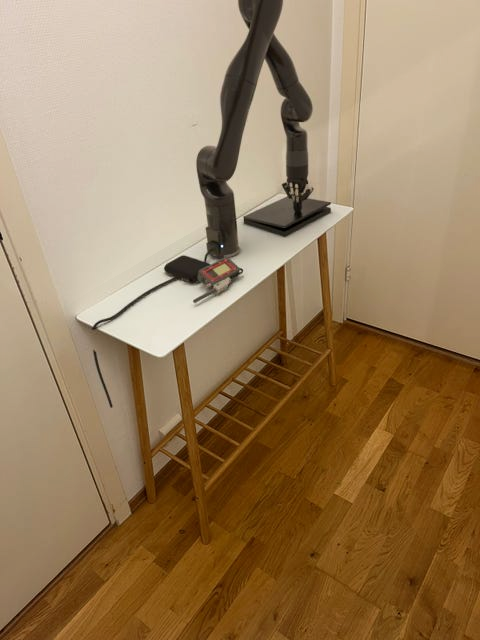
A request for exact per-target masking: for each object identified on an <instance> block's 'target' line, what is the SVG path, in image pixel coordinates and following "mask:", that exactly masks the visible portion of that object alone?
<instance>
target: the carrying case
mask: <svg viewBox="0 0 480 640" xmlns="http://www.w3.org/2000/svg"><path fill="white" fill-rule="evenodd" d="M210 264H211V263H209V262H207V261H206V262H204V260H201V259H197V258H194V257H191V256H189V255H180V256H178V257H176V258H174V259H173V260H171V261H169V262H166V263H165V265H164V267H163V270H164V272H165V273H166V274H169V275H171V276H174V277H179V278H178V279H180V280H181V281H182V282H190V283H199V281H198V278H197V277H198V272H199V270H201V269H203V268H205V267H207V266H208V265H210Z"/></svg>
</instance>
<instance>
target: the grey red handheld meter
mask: <svg viewBox="0 0 480 640" xmlns="http://www.w3.org/2000/svg"><path fill="white" fill-rule="evenodd" d="M209 264H210V265H208V266H207V267H205V268H203V269H201V270H199V272H198V277H197V278H198V283H202V284H203V285H204V286H205V288H206V289H207V290H208V291H207V292H205V293H203V294H202V295H199V296H198V297H196V298H194V299H193V300H192V303H193V304H197V303H198V302H200V301H202V300H204V299H205V298H207V297H209V296H211V295H214V294H216V295H219V294H220V293H222V292H223V291H225V290H227V289H228V286H229V284H230V283H231V282H232V280H233V279H235V278H238V277H239V276H240V275H241V274H243V273H244V269H243V268H241V267H240V266H238V265H237V264H236V262H234V261H233V260H232V259H231V257H224V258H222V259H218V260H216V261H215V262H213V263H209Z"/></svg>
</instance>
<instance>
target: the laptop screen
mask: <svg viewBox="0 0 480 640" xmlns="http://www.w3.org/2000/svg"><path fill="white" fill-rule="evenodd" d="M330 205H332V202H331V201H326V200H321V199H320V200H319V199H315V198H309V197H308V198H307V199H306V200H304V201H302V210H301V211H299V212H295V211H294V209H293V201H292V199H289V198H288V196H287V195H286V196H285V197H283V198H280V199H278V200H276V201H274V202H271V203H270V204H268V205H265V206H263V207H260V208H259V209H256V210H255V211H252V212H250V213H248V214H246V215H244V216H242V218H243V220H244V219H247V220H251V221H256V222H260V223H264V224H269V225H273V226H277V227H281V228H286V227H288V226H290V225H292V224H294V223H296V222H298V221H300V220H302V219H303V218H305V217H307V216H309V215H311V214H313V213H315V212H317V211H319V210H321V209H323V208H325V207H329V206H330Z"/></svg>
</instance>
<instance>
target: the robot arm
mask: <svg viewBox="0 0 480 640" xmlns="http://www.w3.org/2000/svg"><path fill="white" fill-rule="evenodd" d="M283 6H284V0H237V7H238V10H239V14H240V16H241V18H242V20H243V22H244V24H245V26H246V28H247V29H248V32H247V35H246V37H245V39H244V41H243V43H242V44H241V46H240V47H239V49H238V50H237V51H236V53H235V55H234V56H233V58H232V59H231V60H230V62H229V64H228V66H227V67H226V70H225V73H224V76H223V81H222V84H221V88H220V92H219V107H220V109H219V110H220V116H221V129H220V134H219V137H218V141H217V144H216V145H212V144H211V145H209V144H208V145H205V146H203V147H202V148H200V149H199V151H198V153H197V155H196V160H195V167H196V168H195V169H196V174H197V179H198V185H199V191H200V193H201V195H202V197H203V200H204V208H205V215H206V223H207V226H206V227H205V233H206V241H207V242H206V243H205V244H206V250H207V251H206V253H205V255H204V260H203V262H206V263H207V260H208V256H209V255H210V256H213V257H215V258H216V259H217V258H218V259H219V260H221V259H222V258H224V257H228V258H232V257H234V256H236V255H238V254H239V253H240V249H241V248H240V241H239V232H238V223H237V222H238V221H237V212H236V211H237V209H236V200H235V193H234V190H233V189H232V188H231V186H230V185H229V184H228V181H230V180H231V179H232V177H233V176H234V175H235V173H236V170H237V166H238V162H239V157H240V151H241V145H242V141H243V137H244V132H245V128H246V125H247V121H248V116H249V114H250V109H251V106H252V104H253V100H254V98H255V93H256V90H257V86H258V83H259V80H260V79H259V78H260V74H261V71H262V69H263V65H264V62H265V63H266V65H267V67H268V69H269V72H270V75H271V77H272V81H273V83H274V86H275V88H276V91H277V93H278V94H279V95H280V96H281V97H283V98H284V99H283V100H282V102H281V104H280V110H279V111H280V113H279V114H280V120H281V123H282V127H283V131H284V134H285V137H286V138H285V146H286V149H285V170H286V171H285V176H286V181H285V182H283V183H281V187H282V189H283V191H284V192H285V194H286V197H287V196H288V198H289V199H292V201H293V209H294V211H295V212H299V211H301V210H302V201H304V200H306V199H307V198H309V197H310V195H311V194H312V193H313V192H314V190H315V189H314V187H313V186H311V185H309V180H308V177H309V147H308V146H309V145H308V144H309V143H308V140H309V139H308V137H309V136H308V131H307V130H306V129H305V128H303V127H302V126H301V125H300V123H306V122H308V121H309V120H310V119H311V118H312V115H313V112H314V111H313V110H314V106H313V102H312V99H311V97H310V95H309V93H308V92H307V90H306V89H305V87H304V85H303V84H302V83H301V82H300V79H299V76H298V73H297V70H296V66H295V64H294V61H293V58H291V55H290V54H289V52H288V51H287V50H286V49H285V47H284V46H283V44H282V43H281V42H280V41H279V39H278V38H277V36H276V34H275V31H276V28H277V25H278V23H279V20H280V18H281V15H282V11H283ZM177 279H180V278H179V277H177V276H174V277H172V278H169V279H168V280H166V281H164V282H162V283H159V284H158V285H155V286H154V287H152V288H150V289H148V290H147V291H145V292H144V293H142V294H141V295H138V296H137V297H136V298H134V299H133V300H132V301H130V302H129V303H127V304H126V305H125V306H124V307H123V308H122V309H120V310H119V311H118V312H116V313H115V314H113V315H111V316H109V317H107V318H102V319H100V320H98V321H97V322H95V323H94V324H93V325H92V327H91V331H94V330H95V329H96V328H97V327H98V325H99V324H102V323H105V322H109V321H111V320H113V319H115V318H117V317H118V316H120V315H121V314H123V312H125V311H126V310H127V309H128V308H129V307H131V306H132V305H134V304H135V303H136V302H138V301H139V300H140V299H142V298H143V297H145V296H146V295H148V294H150V293H151V292H153V291H155V290H156V289H159V288H161V287H163V286H165V285H167V284H169V283H171V282H173V281H176V280H177ZM92 354H93V359H94V363H95V367H96V371H97V373H98V377H99V379H100V382H101V385H102V387H103V390H104V393H105V396H106V399H107V401H108V404H109V407H110V409H112V408H113V403H112V399H111V397H110V394H109V391H108V388H107V386H106V383H105V380H104V378H103V374H102V372H101V368H100V365H99V360H98V359H99V358H98V354H97V351H96V350H94V349H92Z"/></svg>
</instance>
